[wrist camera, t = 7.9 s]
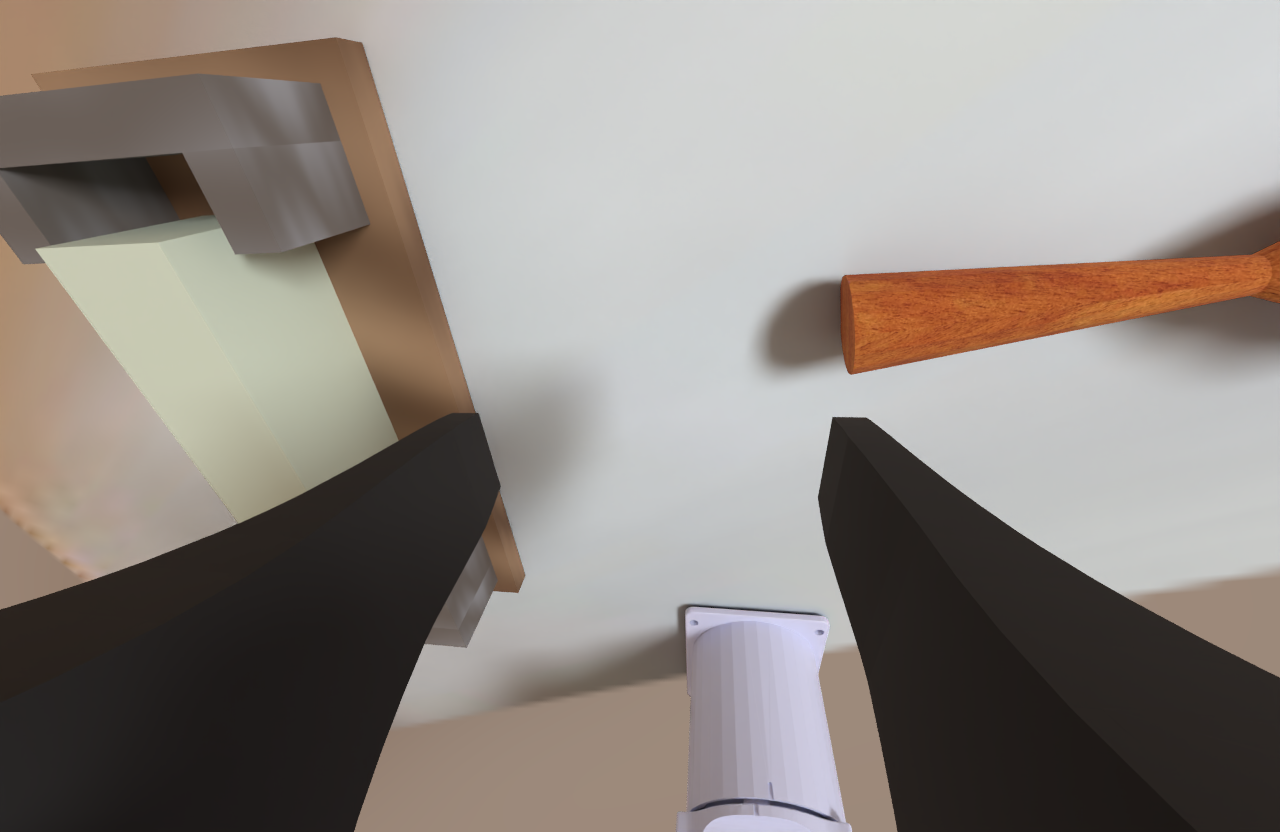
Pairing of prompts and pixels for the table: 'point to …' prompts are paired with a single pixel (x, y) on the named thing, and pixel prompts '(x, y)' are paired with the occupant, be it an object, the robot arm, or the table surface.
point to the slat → (232, 355)
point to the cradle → (259, 211)
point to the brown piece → (1029, 302)
